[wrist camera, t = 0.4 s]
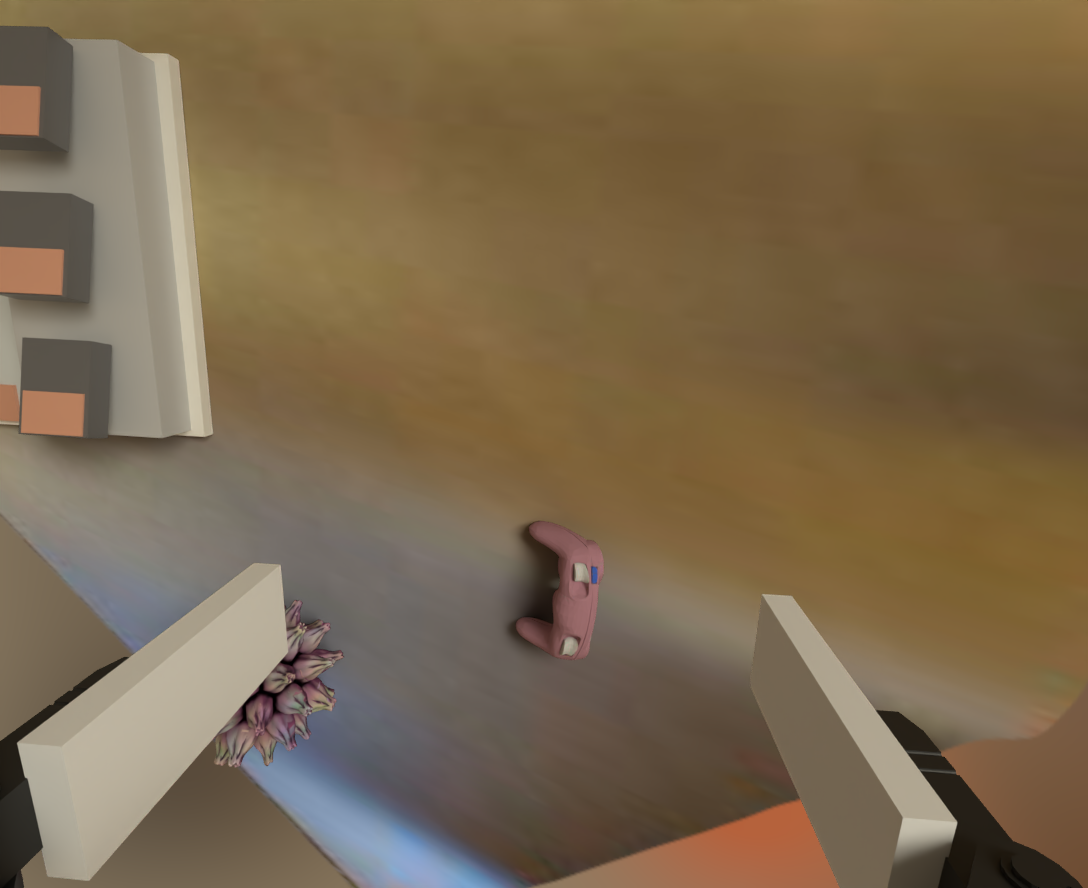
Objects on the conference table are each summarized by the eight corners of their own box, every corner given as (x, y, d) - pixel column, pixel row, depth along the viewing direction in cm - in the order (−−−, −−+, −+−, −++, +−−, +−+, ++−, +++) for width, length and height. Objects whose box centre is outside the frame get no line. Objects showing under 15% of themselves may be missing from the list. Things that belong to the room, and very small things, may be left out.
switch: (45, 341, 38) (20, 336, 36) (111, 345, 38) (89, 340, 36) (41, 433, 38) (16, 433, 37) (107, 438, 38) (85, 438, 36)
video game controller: (561, 623, 47) (600, 675, 41) (510, 628, 45) (543, 684, 39) (578, 514, 45) (622, 552, 38) (525, 515, 43) (563, 555, 36)
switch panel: (-96, 53, 39) (-172, 24, 35) (178, 60, 37) (131, 30, 34) (-26, 419, 45) (-84, 428, 41) (212, 434, 43) (176, 445, 40)
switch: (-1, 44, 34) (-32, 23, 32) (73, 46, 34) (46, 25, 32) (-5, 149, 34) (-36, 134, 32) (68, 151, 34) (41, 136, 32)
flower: (207, 640, 48) (87, 744, 36) (279, 542, 45) (174, 619, 34) (316, 717, 49) (233, 842, 37) (392, 625, 46) (329, 729, 35)
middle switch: (23, 201, 36) (-4, 189, 34) (93, 204, 36) (69, 192, 34) (19, 299, 36) (-9, 293, 34) (89, 303, 36) (64, 296, 34)
